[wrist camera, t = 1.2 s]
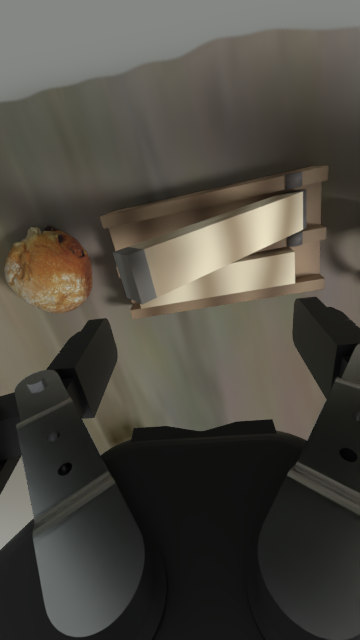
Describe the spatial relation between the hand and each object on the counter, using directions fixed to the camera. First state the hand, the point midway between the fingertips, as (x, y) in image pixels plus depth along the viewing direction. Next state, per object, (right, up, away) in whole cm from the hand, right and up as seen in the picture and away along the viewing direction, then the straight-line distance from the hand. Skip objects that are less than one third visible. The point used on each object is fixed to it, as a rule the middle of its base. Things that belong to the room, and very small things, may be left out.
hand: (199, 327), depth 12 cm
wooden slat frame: (+3, +9, +21) cm, 23 cm away
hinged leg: (+3, +8, +12) cm, 14 cm away
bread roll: (-16, +7, +24) cm, 30 cm away
